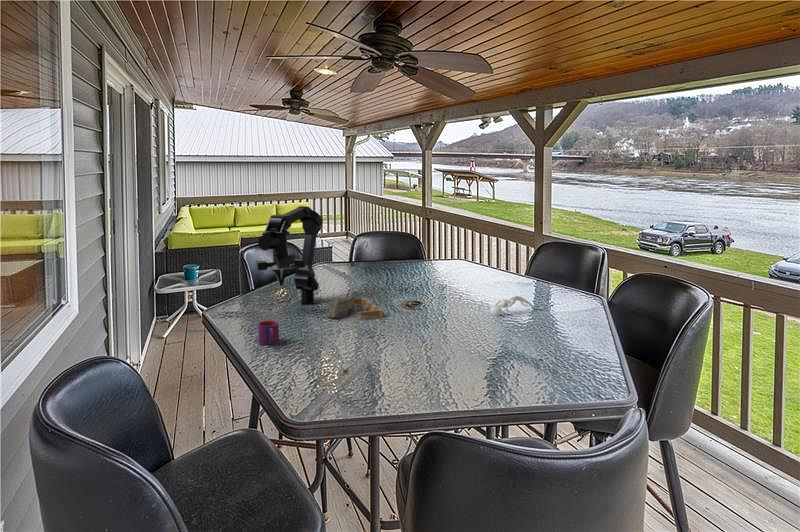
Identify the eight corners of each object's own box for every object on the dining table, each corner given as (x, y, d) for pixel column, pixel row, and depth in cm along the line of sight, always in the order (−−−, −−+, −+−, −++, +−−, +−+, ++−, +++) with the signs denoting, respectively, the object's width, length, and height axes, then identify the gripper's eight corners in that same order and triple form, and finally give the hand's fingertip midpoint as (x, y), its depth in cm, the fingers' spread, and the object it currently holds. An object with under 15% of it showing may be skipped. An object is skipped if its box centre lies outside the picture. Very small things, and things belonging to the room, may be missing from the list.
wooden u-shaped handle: (342, 305, 224) (342, 299, 223) (363, 304, 228) (363, 297, 227) (360, 320, 203) (360, 312, 202) (382, 317, 207) (382, 310, 206)
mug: (278, 338, 180) (277, 319, 179) (280, 347, 170) (280, 328, 169) (258, 340, 178) (257, 321, 176) (259, 349, 168) (259, 329, 167)
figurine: (543, 301, 221) (504, 294, 207) (538, 324, 222) (498, 318, 207) (527, 297, 229) (488, 289, 214) (521, 319, 229) (482, 313, 215)
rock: (335, 297, 219) (356, 293, 217) (338, 313, 220) (360, 309, 217) (319, 306, 203) (342, 301, 200) (323, 323, 203) (346, 318, 201)
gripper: (259, 251, 194) (260, 291, 197) (308, 248, 201) (308, 287, 204) (254, 247, 204) (256, 285, 207) (301, 244, 211) (302, 282, 214)
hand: (281, 285), depth 208 cm, fingers closed
